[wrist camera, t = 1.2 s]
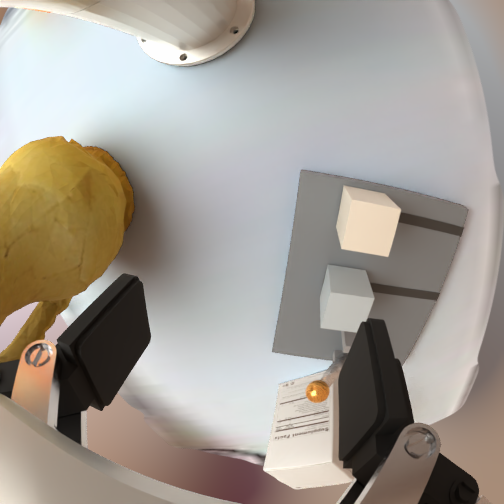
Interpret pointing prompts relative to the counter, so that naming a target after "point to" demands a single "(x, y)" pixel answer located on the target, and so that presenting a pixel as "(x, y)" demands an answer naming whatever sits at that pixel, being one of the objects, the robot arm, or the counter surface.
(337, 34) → the counter surface
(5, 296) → the pitcher
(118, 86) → the counter surface
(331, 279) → the white cube
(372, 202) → the cream slider
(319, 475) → the supplement box
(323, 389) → the lever
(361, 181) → the panel
